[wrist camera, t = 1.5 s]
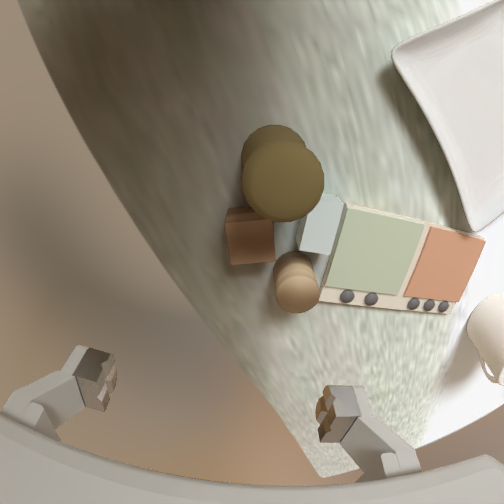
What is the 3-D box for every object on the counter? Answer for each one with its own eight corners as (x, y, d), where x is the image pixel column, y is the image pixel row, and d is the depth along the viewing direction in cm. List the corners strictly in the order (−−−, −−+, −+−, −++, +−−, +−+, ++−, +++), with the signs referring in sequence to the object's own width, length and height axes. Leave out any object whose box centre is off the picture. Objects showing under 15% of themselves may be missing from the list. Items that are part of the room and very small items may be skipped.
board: (345, 202, 29) (348, 206, 28) (480, 235, 30) (486, 240, 29) (317, 296, 34) (319, 302, 33) (447, 310, 35) (451, 315, 34)
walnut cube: (228, 208, 30) (224, 223, 26) (270, 204, 30) (272, 218, 26) (233, 245, 32) (230, 265, 28) (273, 242, 32) (275, 261, 28)
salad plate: (373, 55, 23) (386, 50, 20) (494, -2, 17) (511, -7, 14) (458, 226, 31) (474, 239, 27) (553, 147, 25) (570, 152, 22)
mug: (451, 357, 40) (479, 407, 30) (474, 295, 34) (515, 344, 25) (489, 347, 39) (518, 391, 30) (513, 287, 34) (552, 330, 24)
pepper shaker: (273, 111, 26) (283, 114, 16) (321, 156, 28) (356, 187, 18) (227, 159, 28) (211, 191, 18) (275, 201, 30) (285, 254, 20)
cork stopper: (278, 248, 32) (281, 274, 27) (316, 254, 32) (325, 280, 28) (270, 282, 34) (272, 310, 29) (306, 287, 34) (313, 315, 29)
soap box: (306, 189, 29) (311, 198, 26) (336, 195, 29) (343, 204, 27) (295, 237, 31) (299, 250, 29) (324, 241, 32) (330, 255, 29)
